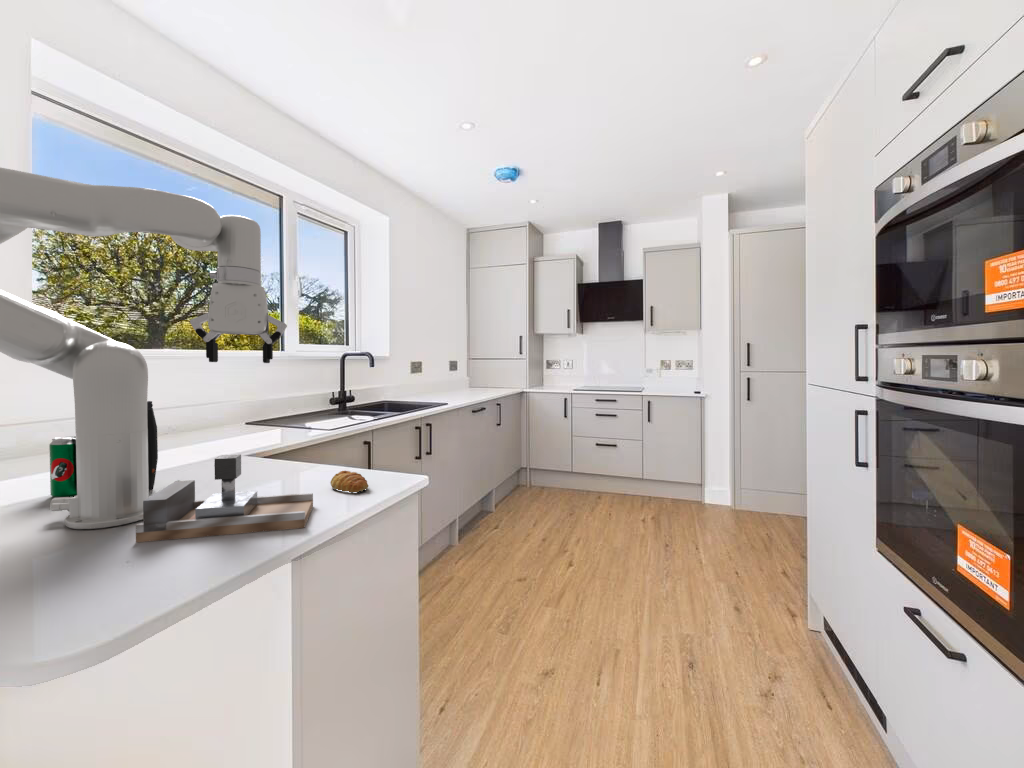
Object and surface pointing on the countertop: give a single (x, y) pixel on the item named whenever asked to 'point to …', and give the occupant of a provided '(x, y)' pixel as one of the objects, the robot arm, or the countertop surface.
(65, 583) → the countertop surface
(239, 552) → the countertop surface
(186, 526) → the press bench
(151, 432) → the portable speaker
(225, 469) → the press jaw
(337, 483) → the pastry
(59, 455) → the soda can
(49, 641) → the countertop surface
